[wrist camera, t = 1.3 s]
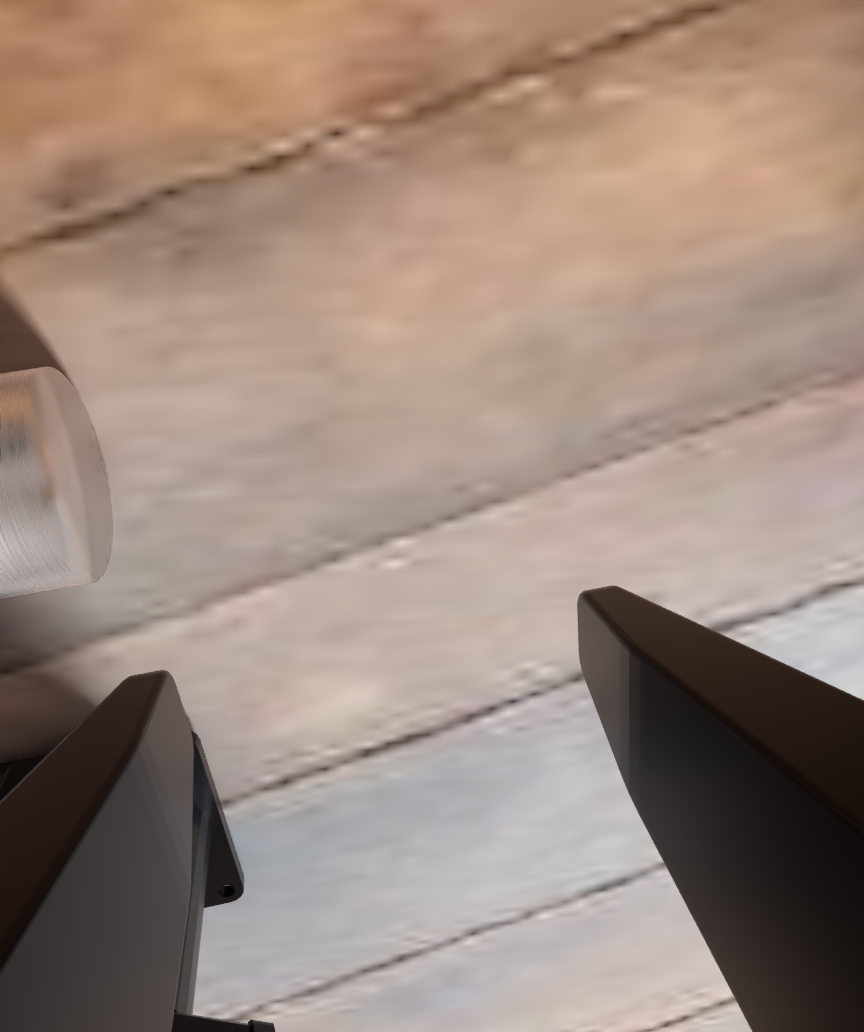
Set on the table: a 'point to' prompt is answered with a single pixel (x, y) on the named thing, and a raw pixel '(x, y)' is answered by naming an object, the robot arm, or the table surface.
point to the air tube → (50, 486)
